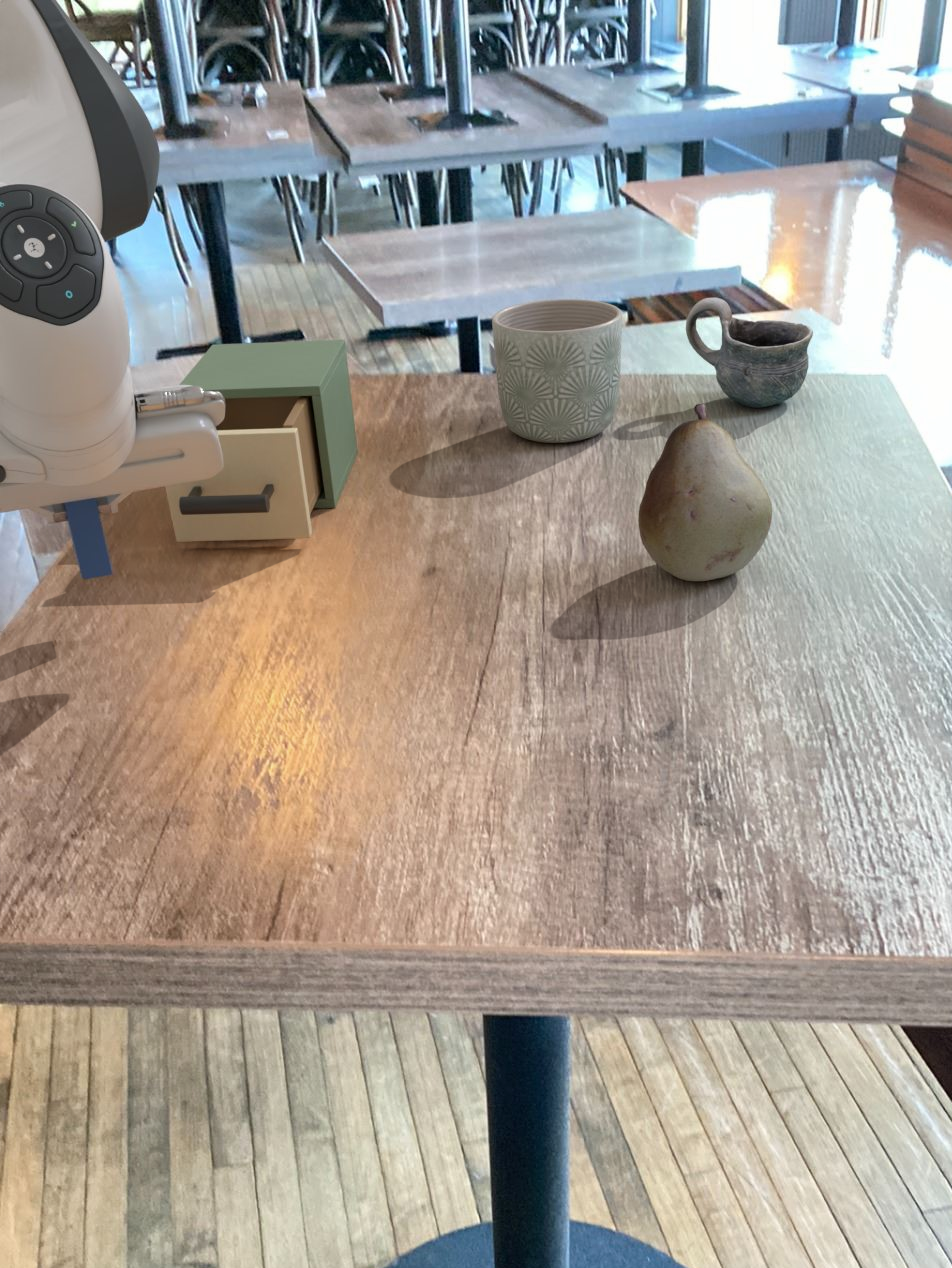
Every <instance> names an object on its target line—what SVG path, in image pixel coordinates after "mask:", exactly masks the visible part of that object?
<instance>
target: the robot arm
mask: <svg viewBox="0 0 952 1268" xmlns="http://www.w3.org/2000/svg"><path fill="white" fill-rule="evenodd" d="M160 155H161V154H160V147H159V142H158V140H157V136H156V134H155V131H154V129H153V126H152V125H151V123H150V120H149V119H148V116H147V115H146V113H145V111H144V109H143V108H142V106H141V104H140V103H139V101H138V99H137V98H136V97H135V95H134V94H133V92H132V91H131V89H130V87H128V85H127V84H126V82H124V80H123V79H122V78H121V76H120V75H119V74H118V73H117V71H116V70H115V69H114V67H113V66H112V65H111V64H110V63H109V62H108V61H107V60H106V58H105V57H104V56H103V55H102V54H101V52H100V51H99V50H98V49H97V48H96V47H95V46H94V45H93V44H92V43H91V42H90V40H89V39H88V38H87V37H86V36H85V35H84V33H83V32H82V31H81V30H80V29H79V28H78V26H77V25H76V24H75V23H74V22H73V20H72V19H71V18H70V17H69V15H68V14H67V13H66V11H65V10H64V9H63V8H62V6H61V5H60V3H59V2H58V0H0V514H3V513H9V512H15V511H22V510H30V511H31V512H35V513H37V514H40V515H42V516H44V517H45V518H46V522H47V525H52V524H58V523H64V522H67V521H68V519H67V514H66V509H65V506H64V503H66V502H72V501H78V500H85V499H91V498H96V502H97V506H98V510H99V515H100V516H104V515H105V516H106V515H111V514H112V515H113V514H117V513H119V506H118V505H119V504H120V503H121V502H123V501H124V500H125V499H126V498H127V497H128V496H130V495H131V494H132V493H133V492H134V493H135V492H139V491H147V490H151V489H159V488H164V487H165V486H171V485H177V484H183V483H189V482H196V481H202V480H208V479H211V478H213V477H214V476H216V475H217V474H218V473H220V472H221V471H222V470H223V454H222V449H221V445H220V441H219V437H218V434H217V430H216V426H218V425H219V424H220V423H221V422H222V421H223V420H224V417H225V406H226V402H225V399H224V397H223V396H222V394H221V393H220V392H213V391H203V389H202V387H200V386H191V385H179V384H175V385H173V384H172V385H166V386H160V387H159V386H157V387H152V388H145V389H138V390H134V380H133V373H132V371H131V367H130V358H131V338H130V337H131V336H130V327H129V320H128V319H129V318H128V313H127V306H126V302H125V297H124V293H123V289H122V285H121V280H120V278H119V275H118V271H117V269H116V266H115V263H114V261H113V257H112V254H111V252H110V251H109V248H108V246H107V244H106V243H107V242H109V241H112V240H113V239H114V240H115V239H116V238H119V237H120V236H123V235H125V234H127V233H129V232H131V231H134V230H136V229H138V228H140V227H142V226H143V225H144V224H145V222H146V221H147V218H148V215H149V213H150V210H151V207H152V204H153V200H154V197H155V193H156V189H157V184H158V179H159V172H160V161H161V159H160V158H161V157H160Z"/></svg>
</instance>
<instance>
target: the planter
mask: <svg viewBox="0 0 952 1268" xmlns="http://www.w3.org/2000/svg"><path fill="white" fill-rule="evenodd" d="M491 325H492V338H493V351H494V362H495V363H494V364H495V375H496V384H497V392H498V398H499V406H500V411H501V414H502V417H503V420H504V422H505V424H506V426H507V427H508V429H509V430H510V431H511V432H512V433H514V434H515V435H517V436H519V437H520V438H522V439H525V440H529V441H532V442H537V443H538V442H539V443H544V444H545V443H546V444H547V443H549V444H563V443H573V442H578V441H583V440H586V439H590V438H593V437H595V436H597V435H599V434H600V433H602V432H603V431H605V430H606V429H607V428H608V427H610V425H611V423H612V422H613V420H614V419H615V415H616V413H617V407H618V402H619V394H620V382H621V367H622V366H621V365H622V363H621V362H622V338H623V337H622V333H623V312H622V310H621V309H620V308H618V306H616V305H614V304H611V303H607V302H603V301H600V300H599V301H598V300H592V299H581V298H580V299H579V298H555V299H554V298H553V299H543V300H542V299H541V300H534V301H528V302H522V303H518V304H514V305H512V306H507V307H505V308H502V309H501V310H499V311H497V312H496V313H495V314H494V315H493V316H492V318H491Z"/></svg>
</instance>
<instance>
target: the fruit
mask: <svg viewBox="0 0 952 1268" xmlns="http://www.w3.org/2000/svg"><path fill="white" fill-rule="evenodd" d="M694 412H695V415H697V418H698V419H694V420H689V421H685V422H683V423H681V424H679V425H678V426H676V427H675V428H674V429H673V430H672V431H671V433H670V434H669V436H668V437H667V440H666V442H665V443H664V446H663V449H662V452H661V455H660V457H659V458H658V459H657V462H656V463H655V465H654V466H653V468H652V469H651V471H650V473H649V475H648V477H647V480H646V484H645V488H644V491H643V492H644V493H643V496H642V499H641V502H640V504H639V508H638V517H637V518H638V519H637V520H638V529H639V536H640V540H641V543H642V546H643V548H644V549H645V550H646V552H647V554H648V555H649V557H650V558H651V559H652V561H653V562H654V563H655V564H656V565H657V566H658V567H659V568H661V569H662V570H664V571H665V572H667V573H669V574H671V576H674V577H675V578H677V579H680V580H684V581H687V582H706V581H707V582H709V581H712V580H716V579H722V578H726V577H728V576H731V575H733V574H734V573H737V572H739V571H741V570H742V569H744V568H745V567H746V566H747V565H748V564H750V562H751V561H752V560H753V559H754V558H755V556H756V555H757V554H758V552H759V551H760V550H761V549H762V546H763V545H764V543H765V541H766V539H767V537H768V535H769V532H770V530H771V525H772V519H773V505H772V501H771V500H772V499H771V497H770V496H769V493H768V491H767V489H766V487H765V485H764V483H763V481H762V479H761V478H760V476H759V475H758V473H756V472H755V470H754V469H753V468H752V467H751V466H750V465H749V464H748V463H747V461H746V460H745V459H744V457H742V456H741V454H740V453H739V450H738V448H737V445H736V443H735V441H734V439H733V437H732V436H731V435H730V434H729V432H728V431H727V430H726V429H724V428H723V427H721V426H720V425H718V423H716V422H714V421H713V420H710V419H707V413H706V404H705V403H697V404H695V405H694Z"/></svg>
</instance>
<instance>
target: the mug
mask: <svg viewBox="0 0 952 1268" xmlns="http://www.w3.org/2000/svg"><path fill="white" fill-rule="evenodd" d="M707 311H708V312H709V311H710V312H713V313H715V314H717V315H718V317H719V322H720V325H721V345H720V348H719V349H712V348H710V347H709V346H707V344H706V343H705V342H704V341H703V339H702V338H701V336H700V334H699V332H698V330H697V320H698V318H699V317H700V315H701V314H702V313H704V312H707ZM685 333H686V337H687V340H688V342H689V344H690V346H691V347H692V349H693V350H694V351H695V353H696V354H697V355H698V356H700V357H701V359H703V360H704V361H706V362H707V364H709V365H711V366H712V367H714V370H715V379H716V383H717V384H718V385H719V387H720V389H721V391H722V392H723V394H725V396H726V397H728V399H731V400H733V401H734V402H736V403H738V404H739V405H742V406H744V407H745V406H746V407H749V408H766V407H770V406H774V405H779V404H781V403H784V402H786V401H787V400H790V399H792V397H794V396H795V395H796V394H797V393H798V392H799V391H800V389H801V388H802V386H803V384H804V382H805V381H806V377H807V374H808V370H809V362H810V361H809V354H808V348H809V345H810V343H811V340H812V338H813V336H814V331H813V329H812V328H811V327H810V326H809V325H806V324H804V323H795V322H791V321H787V320H773V319H772V320H769V319H768V320H766V319H765V320H756V321H753V320H748V319H743V318H737V317H733V313H732V309H731V306H730V305H729V303H728V302H727V301H726V300H724V299H722V298H719V297H705V298H703V299H701V300H699V301H698V302H696V304H694V306H693V307H691V309H690V311H689V312H688V315H687V317H686V321H685Z"/></svg>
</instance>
